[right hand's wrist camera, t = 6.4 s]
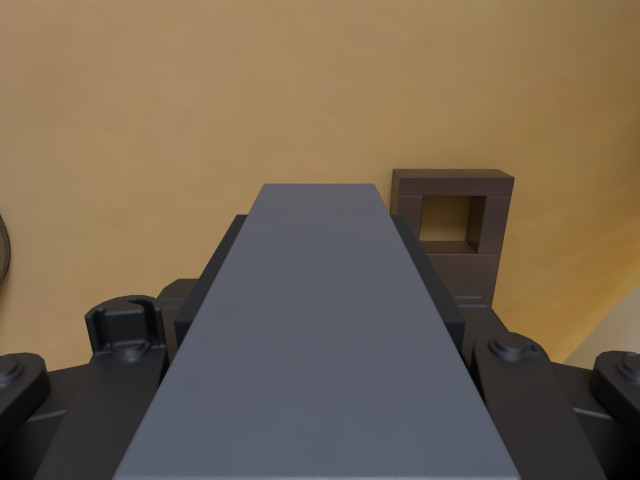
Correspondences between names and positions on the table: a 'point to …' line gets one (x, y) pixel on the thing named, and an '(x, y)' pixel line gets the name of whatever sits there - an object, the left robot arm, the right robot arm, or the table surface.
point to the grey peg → (317, 360)
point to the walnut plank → (483, 228)
